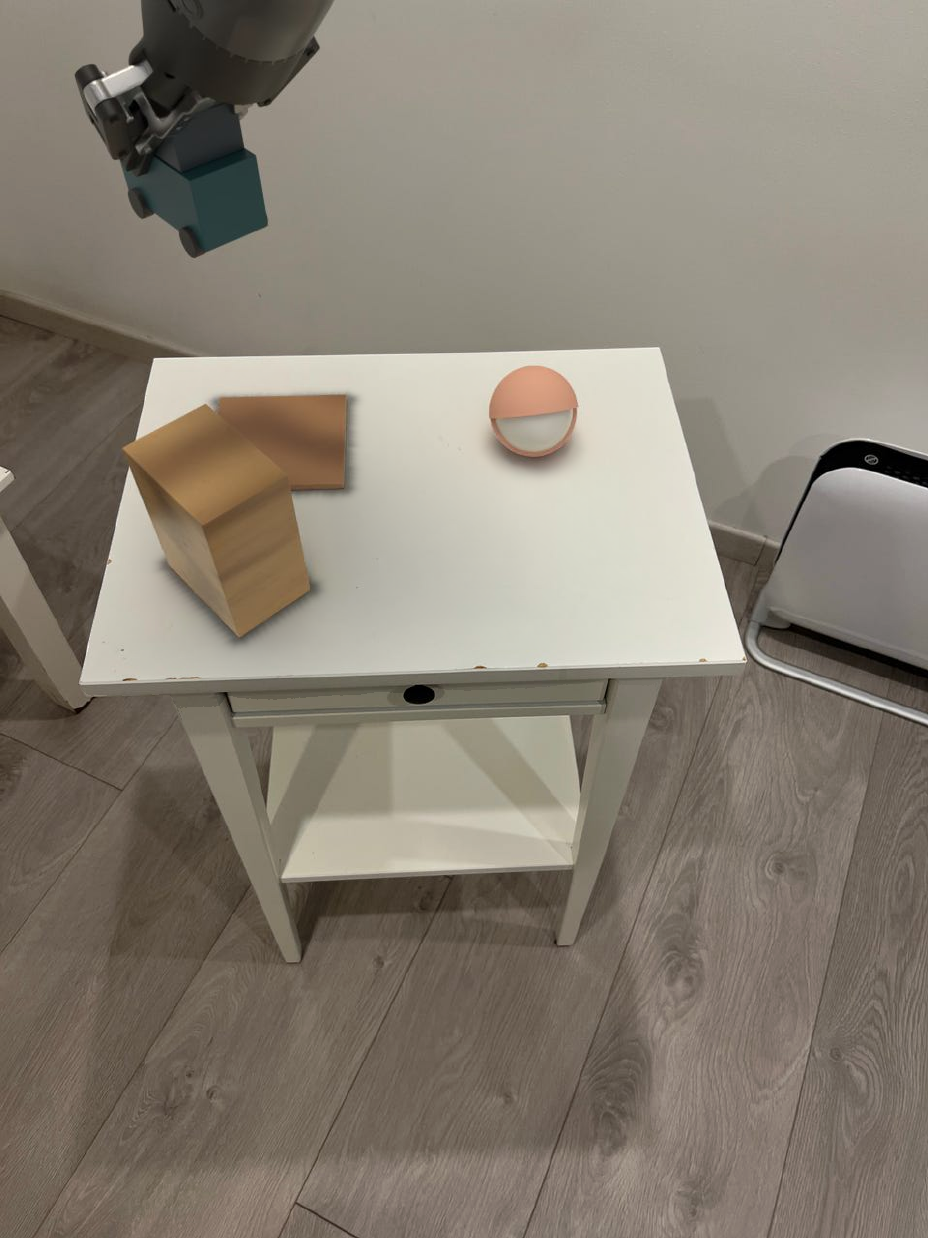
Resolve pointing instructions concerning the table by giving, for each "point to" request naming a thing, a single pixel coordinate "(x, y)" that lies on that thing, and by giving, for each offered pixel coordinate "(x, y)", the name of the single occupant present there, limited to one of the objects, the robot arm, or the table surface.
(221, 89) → the robot arm
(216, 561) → the wooden block
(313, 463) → the mat
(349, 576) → the table surface
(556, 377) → the toy ball
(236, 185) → the toy van
